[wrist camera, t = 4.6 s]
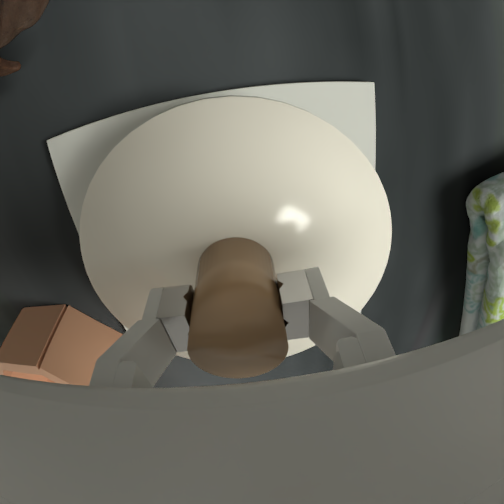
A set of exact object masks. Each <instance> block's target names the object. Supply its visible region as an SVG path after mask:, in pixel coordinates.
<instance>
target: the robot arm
mask: <svg viewBox="0 0 504 504" xmlns="http://www.w3.org/2000/svg"><path fill="white" fill-rule="evenodd" d="M276 279H277V286H278V292H279V296H280V302H281V308H282V314H283V319H284V323H285V329H286V334H287V340H292V339H300V338H308V337H309V339H310V340H311V341H312V342H314V343H315V344H316V345H317V346H318V347H319V348H320V349H321V350H322V351H323V352H324V353H325V354H326V355H327V356H328V357H329V358H330V359H331V360H332V361H333V362H334V365H333V370H331V371H326V372H320V373H315V374H309V375H303V376H296V377H290V378H283V379H276V380H268V381H259V382H250V383H241V384H230V385H217V386H201V387H178V388H153V386H154V384H155V383H156V382H157V380H158V379H159V378H160V376H161V375H162V373H163V372H164V371H165V369H166V368H167V366H168V365H169V364H170V362H171V361H172V359H173V358H174V357H175V355H176V354H177V353H176V352H185V351H187V345H188V336H189V327H190V319H191V311H192V303H193V296H194V289H193V287H192V285H181V286H170V287H161V288H152V289H151V290H150V292H149V296H148V299H147V303H146V306H145V310H144V313H143V317H142V320H138V321H137V322H136V323H135V324H134V325H133V326H131V327H130V328H129V329H128V330H127V331H126V332H125V333H124V334H123V335H122V336H121V337H120V338H119V339H118V340H117V341H116V342H115V343H114V344H113V345H112V346H111V347H109V348H108V349H107V350H106V351H105V352H104V353H103V354H102V355H101V356H100V357H99V358H98V359H97V361H96V364H95V367H94V370H93V374H92V377H91V380H90V384H89V386H84V385H72V384H61V383H52V382H44V381H36V380H29V379H23V378H17V377H11V376H5V375H0V504H504V319H502V320H500V321H497V322H495V323H492V324H490V325H487V326H485V327H482V328H480V329H477V330H475V331H472V332H469V333H466V334H464V335H461V336H458V337H455V338H452V339H449V340H446V341H443V342H440V343H437V344H434V345H431V346H428V347H424V348H421V349H418V350H414V351H411V352H407V353H404V354H400V355H395V352H394V350H393V348H392V346H391V343H390V341H389V339H388V336H387V334H386V332H385V330H384V328H382V327H381V326H379V325H377V324H376V323H374V322H373V321H371V320H370V319H368V318H367V317H365V316H364V315H362V314H360V313H359V312H357V311H356V310H354V309H353V308H351V307H350V306H348V305H347V304H345V303H343V302H342V301H340V300H339V299H337V298H336V297H330V296H329V293H328V290H327V287H326V285H325V282H324V279H323V277H322V274H321V272H320V269H319V268H318V267H313V268H307V269H304V270H296V271H290V272H283V273H276Z"/></svg>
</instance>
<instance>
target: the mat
mask: <svg viewBox="0 0 504 504" xmlns="http://www.w3.org/2000/svg"><path fill="white" fill-rule="evenodd" d="M227 95H241V96H258V97H263V98H268V99H273V100H278V101H282V102H285V103H288V104H291V105H293V106H296V107H299V108H301V109H304V110H306V111H308V112H310V113H312V114H313V115H315V116H317V117H319V118H321V119H322V120H324V121H326V122H327V123H329V124H331V125H332V126H334V127H335V128H336V129H338V130H339V131H340V132H341V133H343V134H344V135H345V136H346V137H347V138H349V139H350V140H351V141H352V142H353V143H354V144H355V145H356V146H357V147H358V148H359V150H360V151H361V152H362V153H363V154H364V155H365V156H366V158H367V159H368V160H369V162H370V164H371V165H372V167H373V168H374V170H375V156H376V118H375V89H374V82H360V81H324V82H299V83H284V84H272V85H262V86H253V87H245V88H237V89H230V90H224V91H217V92H211V93H206V94H200V95H195V96H190V97H185V98H180V99H175V100H171V101H166V102H162V103H158V104H154V105H150V106H146V107H142V108H139V109H135V110H131V111H128V112H124V113H121V114H118V115H114V116H111V117H108V118H105V119H102V120H99V121H96V122H93V123H90V124H87V125H84V126H81V127H79V128H76V129H73V130H71V131H68V132H65V133H63V134H60V135H58V136H55V137H53V138H51V139H49V140H47V144H48V148H49V151H50V155H51V158H52V162H53V165H54V168H55V171H56V174H57V177H58V180H59V183H60V186H61V189H62V192H63V195H64V198H65V200H66V203H67V206H68V208H69V211H70V214H71V216H72V219H73V221H74V224H75V226H76V229H77V231H78V234H79V236H80V217H81V211H82V206H83V202H84V199H85V196H86V193H87V190H88V187H89V184H90V183H91V181H92V179H93V177H94V175H95V173H96V171H97V170H98V168H99V166H100V165H101V163H102V162H103V161H104V160H105V158H106V157H107V156H108V154H109V153H110V152H111V151H112V149H113V148H114V147H115V146H116V145H117V144H118V143H120V142H121V141H122V140H123V139H124V138H125V137H126V136H127V135H128V134H129V133H130V132H132V131H133V130H135V129H136V128H138V127H139V126H141V125H142V124H144V123H145V122H147V121H148V120H150V119H152V118H153V117H155V116H156V115H158V114H160V113H162V112H164V111H167V110H169V109H171V108H174V107H176V106H178V105H181V104H184V103H188V102H191V101H195V100H199V99H203V98H208V97H217V96H227ZM359 313H360V314H361V310H360V311H359ZM123 326H124V325H123ZM124 328H125V329H126V331H127V330H128V328H126V327H125V326H124Z"/></svg>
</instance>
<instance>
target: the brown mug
mask: <svg viewBox="0 0 504 504" xmlns="http://www.w3.org/2000/svg"><path fill="white" fill-rule="evenodd" d="M48 2H49V0H0V49H1V48H2V47H4V46H5V45H7V44H9V43H10V42H11V41H12V40H13V39H14V38H15V37H16V36H17V35H18V34H19V33H20V32H21V31H23V30H25V29H27V28H30V27H31V26H33V25H34V24H35V23H36V22H37V21H38V20H39V19H40V17H41V15H42V14H43V12H44V10H45V8H46V6H47V4H48ZM20 68H21V64H20V63H19V62H15V61H8V60H5V59H3V58H1V57H0V77H1V76H5V75H8V74H11V73H13V72H16V71H18V70H19V69H20Z"/></svg>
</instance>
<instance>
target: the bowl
mask: <svg viewBox="0 0 504 504" xmlns="http://www.w3.org/2000/svg"><path fill="white" fill-rule="evenodd" d="M122 335H123V334H122V333H120V332H118V331H116V330H114V329H112V328H110V327H108V326H106V325H104V324H102V323H100V322H98V321H96V320H94V319H93V318H91V317H89V316H87V315H85V314H83V313H82V312H80V311H78V310H76V309H75V308H73V307H71V306H69V305H68V307H67V306H66V305H65V304H62V305H50V306H37V307H24V308H23V309H22V310H21V312H20V313H19V315H18V317H17V319H16V320H15V322H14V324H13V326H12V327H11V329H10V331H9V333H8V335H7V336H6V338H5V340H4V342H3V344H2V346H1V348H0V375H5V376H11V377H17V378H23V379H29V380H36V381H44V382H52V383H61V384H72V385H84V386H89V384H90V380H91V377H92V374H93V370H94V367H95V364H96V361H97V359H98V358H99V357H100V356H101V355H102V354H103V353H104V352H105V351H106V350H107V349H108V348H109V347H111V346H112V345H113V344H114V343H115V342H116V341H117V340H118V339H119V338H120V337H121V336H122Z"/></svg>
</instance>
